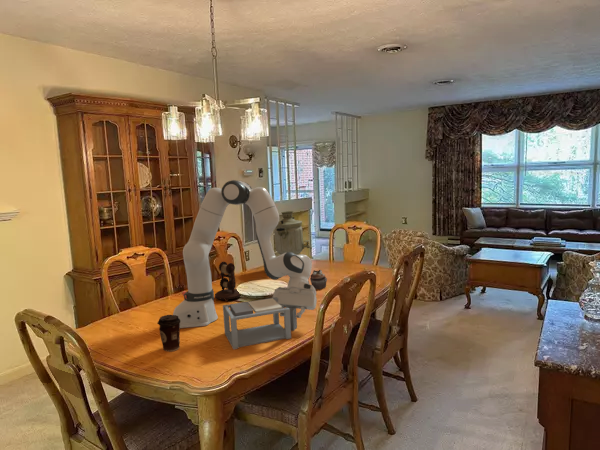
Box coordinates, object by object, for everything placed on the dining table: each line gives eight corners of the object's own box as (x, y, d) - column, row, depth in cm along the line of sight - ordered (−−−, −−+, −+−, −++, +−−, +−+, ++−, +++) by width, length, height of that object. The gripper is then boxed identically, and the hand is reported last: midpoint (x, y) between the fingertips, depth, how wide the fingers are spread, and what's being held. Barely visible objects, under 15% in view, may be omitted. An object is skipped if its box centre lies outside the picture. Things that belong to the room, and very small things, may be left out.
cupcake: (313, 290, 237) (312, 273, 236) (308, 285, 246) (308, 269, 245) (329, 288, 239) (328, 271, 238) (324, 284, 249) (323, 267, 247)
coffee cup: (160, 354, 160) (157, 322, 159) (158, 346, 168) (155, 315, 166) (183, 350, 164) (181, 318, 162) (181, 342, 171) (178, 312, 170)
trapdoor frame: (233, 349, 162) (231, 318, 161) (224, 333, 179) (222, 305, 177) (291, 338, 171) (289, 309, 169) (277, 323, 187) (276, 297, 186)
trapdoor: (236, 320, 164) (236, 313, 164) (230, 310, 176) (229, 303, 176) (282, 312, 171) (281, 306, 170) (273, 303, 183) (272, 297, 182)
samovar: (297, 276, 270) (294, 214, 264) (265, 272, 284) (262, 213, 279) (320, 266, 294) (318, 210, 289) (290, 263, 308) (287, 209, 303)
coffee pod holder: (247, 297, 229) (245, 261, 227) (225, 303, 219) (222, 266, 217) (231, 292, 240) (229, 258, 237) (209, 298, 229) (207, 263, 227)
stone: (293, 330, 179) (292, 310, 177) (285, 329, 180) (284, 309, 179) (297, 327, 182) (296, 307, 181) (288, 326, 184) (287, 306, 182)
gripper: (273, 283, 189) (265, 311, 181) (316, 286, 182) (310, 315, 174) (278, 290, 194) (270, 317, 186) (319, 293, 186) (313, 321, 179)
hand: (289, 316), depth 180 cm, fingers open, 6 cm apart
